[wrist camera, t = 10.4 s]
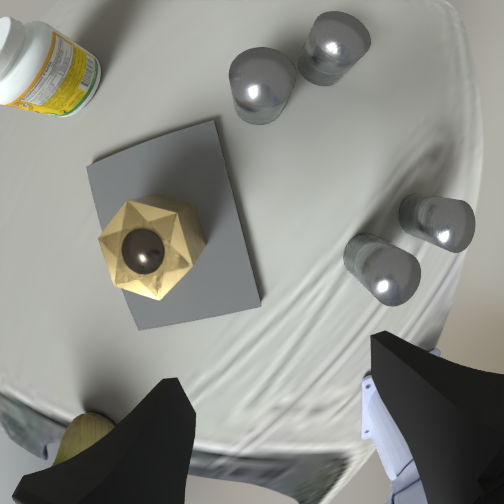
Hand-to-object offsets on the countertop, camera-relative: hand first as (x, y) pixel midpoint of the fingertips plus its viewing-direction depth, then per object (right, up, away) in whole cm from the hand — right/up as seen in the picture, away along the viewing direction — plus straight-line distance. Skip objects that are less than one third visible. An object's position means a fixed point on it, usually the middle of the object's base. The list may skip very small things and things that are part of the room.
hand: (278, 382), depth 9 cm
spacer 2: (+4, +17, +6) cm, 18 cm away
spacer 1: (0, +14, +6) cm, 15 cm away
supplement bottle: (-14, +17, +5) cm, 23 cm away
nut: (-6, +6, +8) cm, 11 cm away
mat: (-6, +6, +8) cm, 12 cm away
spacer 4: (+11, +7, +8) cm, 15 cm away
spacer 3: (+7, +4, +9) cm, 12 cm away
